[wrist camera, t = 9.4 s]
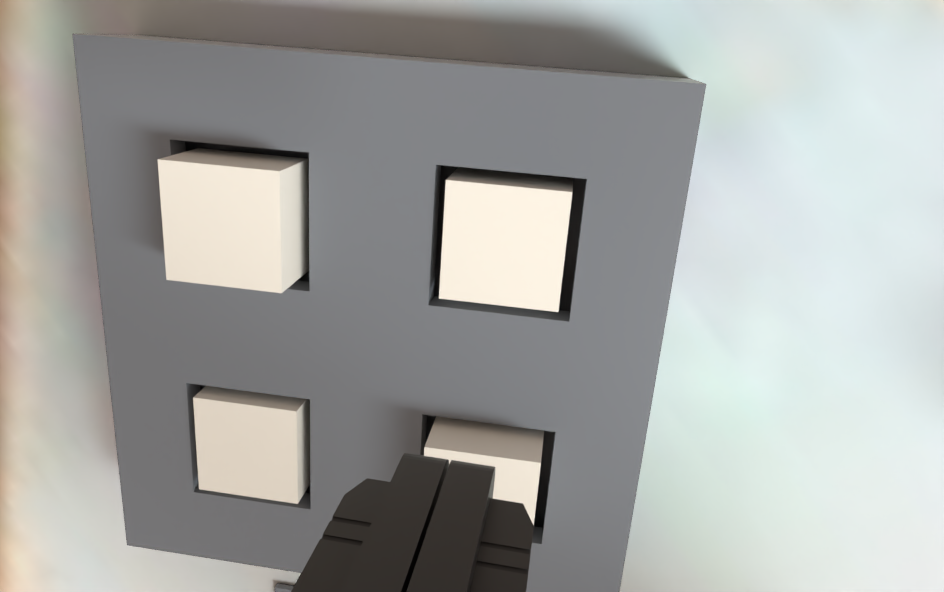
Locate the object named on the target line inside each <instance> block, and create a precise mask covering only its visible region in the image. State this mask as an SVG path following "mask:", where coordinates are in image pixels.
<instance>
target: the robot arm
mask: <svg viewBox="0 0 944 592" xmlns="http://www.w3.org/2000/svg"><path fill="white" fill-rule="evenodd" d="M494 481H495V467H493V466H487V465H481V464H474V463H468V462H462V461H455V460H451V462H450V464H449V460H448V459H442V458H435V457H429V456H423V455H416V454H410V453H404V454H403V456H402V458H401V460H400V462H399V464H398V466H397V468H396V471H395V473H394V475H393V477H392V479H391V481H390V482H387V481H381V480H375V479H369V478H367V479H365V480H364V481H363V482H361V483H360V484H358V485H357V486H356V487H354V488H353V489H352V490H350V491H349V492H347V493H346V494H345V495H344V496H343V498H342V500H341V502H340V504H339V505H338V507H337V509H336V511H335V513H334V515H333V517H332V521H330V522H329V524H328V525H327V527H326V529H325V531H324V533H323V536H322V539H320V540H319V542H318V544H317V546H316V547H315V549H314V551H313V553H312V555H311V556H310V558H309V560H308V562H307V564H306V566H305V567H304V569H303V571H302V573H301V575H300V576H299V578H298V580H297V582H296V584H295V586H294V587H293V589H292V591H291V592H526V588H527V580H528V571H529V563H530V554H531V546H532V537H533V529H534V525H533V523H532V521H531V519H530V517H529V515H528V513H527V511H526V509H525V507H524V504H523V503H517V502H511V501H505V500H499V499H493V490H494Z"/></svg>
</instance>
